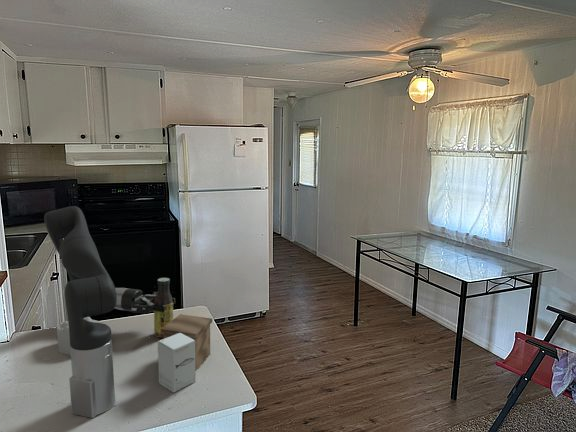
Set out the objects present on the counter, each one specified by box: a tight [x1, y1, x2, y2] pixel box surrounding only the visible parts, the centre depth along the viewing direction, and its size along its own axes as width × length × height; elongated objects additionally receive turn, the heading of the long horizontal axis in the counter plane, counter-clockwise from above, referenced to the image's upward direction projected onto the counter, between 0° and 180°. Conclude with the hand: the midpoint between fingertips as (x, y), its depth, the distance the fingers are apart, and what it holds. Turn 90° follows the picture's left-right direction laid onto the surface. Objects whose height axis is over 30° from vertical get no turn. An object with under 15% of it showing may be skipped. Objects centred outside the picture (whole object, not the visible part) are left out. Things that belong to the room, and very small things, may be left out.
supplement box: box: [157, 333, 196, 394], centre depth 113 cm, size 7×7×13 cm
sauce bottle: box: [153, 277, 174, 339], centre depth 140 cm, size 6×6×20 cm
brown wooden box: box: [161, 313, 213, 372], centre depth 124 cm, size 11×11×12 cm
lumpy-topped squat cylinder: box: [56, 316, 101, 356], centre depth 132 cm, size 10×13×9 cm
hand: (169, 304), depth 139 cm, fingers closed on sauce bottle, 6 cm apart
